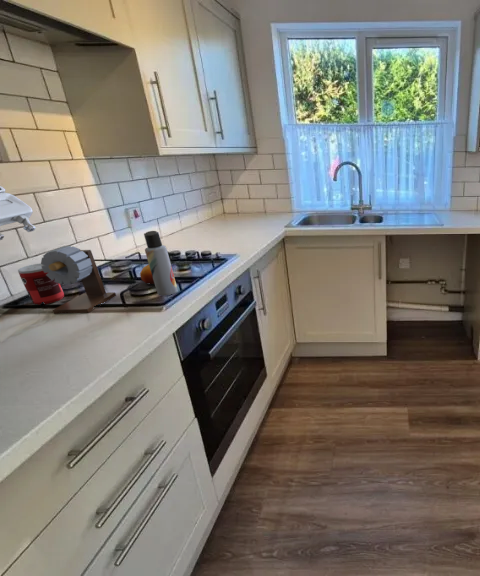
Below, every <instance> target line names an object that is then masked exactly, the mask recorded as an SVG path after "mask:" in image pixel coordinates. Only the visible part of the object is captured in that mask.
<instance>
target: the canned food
mask: <svg viewBox="0 0 480 576" xmlns="http://www.w3.org/2000/svg"><path fill="white" fill-rule="evenodd" d="M41 266H43V265H42V264H41V262H40V263H35V264H28V265H26V266H22V267H20V268H18V269H17V273H18V275H19V277H20V279H21V281H22V282H21V283H22V284H23V285H24V288H25V290H26V292H27V295H28V297H29V299H30V301H31V303H32V304H34V305H36V304H38V305H37V306H40V304H41V303H42V302H44V303H45V304H44V305H50V304H54V303H56V301H57V302H59V301H61V300H63V299H64V298H63V297H65V293H64V290H63V288H62V286H61V285H62V284H59V283H57V282H54V281H55V279H54V280H51V279H50V278H49V277H48V276H47V275H46V274H48V273H44V271H43V269H42V267H41ZM49 303H50V304H49Z"/></svg>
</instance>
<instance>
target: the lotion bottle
mask: <svg viewBox="0 0 480 576" xmlns="http://www.w3.org/2000/svg"><path fill="white" fill-rule="evenodd" d="M143 237H144V240H145V244H146V248H145V249H144V253H145V256H146V260H147V263H148V264H149V266H150V270H151V273H152V276H153V280H154V283H155V284H154V286H155V289H156V292H157V295H158V296H159V295H161V296H160V297H167V295H168V296H171V294H172V295H174V294H176V293H178V285H177V282H176V278H175V274H174V271H173V268H172V267H173V266H172V262H171V259H170V255H169V252H168V248H167V246H166V245H163V242H162V240H161V236H160V233H159V231H157V230H150V231H146V232H145V233H143Z"/></svg>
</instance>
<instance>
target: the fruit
mask: <svg viewBox="0 0 480 576" xmlns="http://www.w3.org/2000/svg"><path fill="white" fill-rule="evenodd" d="M139 277H140V279H141V281H142V282H144V283H145V284H147V283H150V284H153V285H155V283H154V280H153V276H152V273H151V270H150V266H149V263H148V264H147V265H145V266H144V267H142V269H141V270H140V273H139ZM150 284H149V285H150Z"/></svg>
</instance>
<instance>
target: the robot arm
mask: <svg viewBox="0 0 480 576" xmlns="http://www.w3.org/2000/svg"><path fill="white" fill-rule="evenodd" d="M33 212H34V211H33V208H32V207H31V206H30V205H29V204H27V203H26V202H25V201H23V200H22V199H20V198H19V197H17V196H16V195H14V194H12V193H9V192H6V188H4V187H3V186H1V185H0V227H1V226H6V225H9V224H10V225H11V224H14V223H19V224H22V225H23V230H25V231H26V232H27V233H31V232H34V231H35V230H36V226H35V225H34V224H32V222H31V221H30V218H31V216H32V214H33ZM4 237H5V235H4V234H2V233H1V232H0V241H2V240H3V239H4Z"/></svg>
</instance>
